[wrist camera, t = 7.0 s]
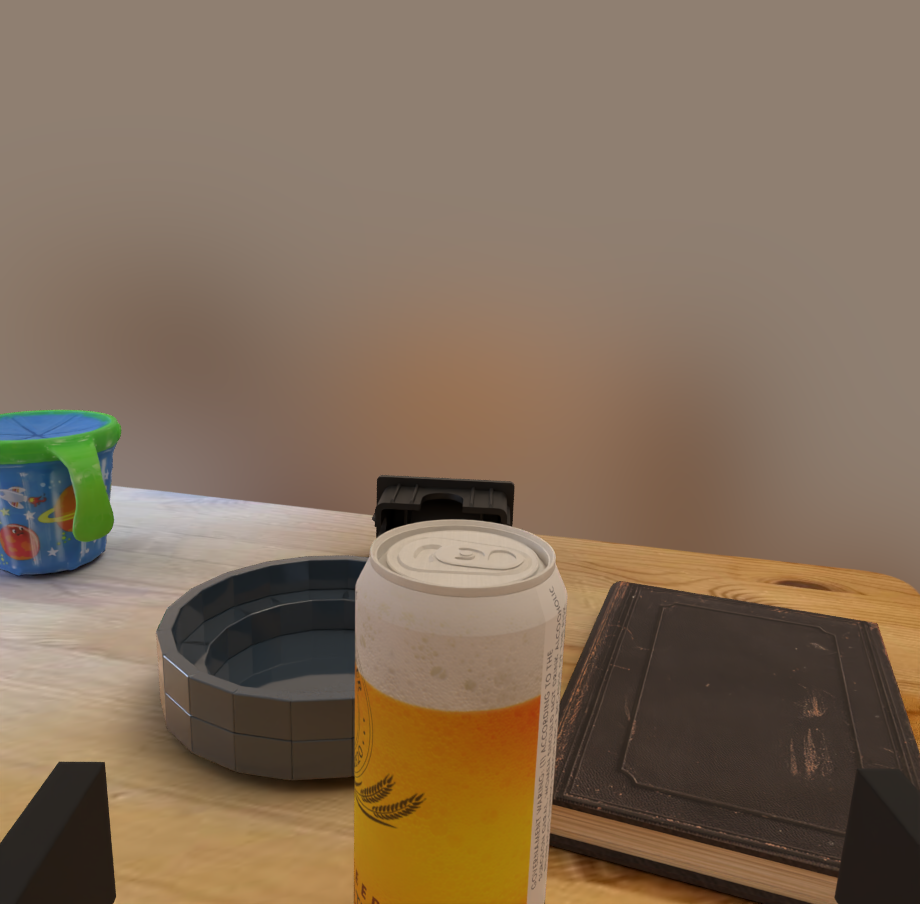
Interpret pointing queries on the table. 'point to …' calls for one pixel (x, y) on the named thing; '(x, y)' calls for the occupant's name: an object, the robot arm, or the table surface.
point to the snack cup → (55, 488)
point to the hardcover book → (724, 741)
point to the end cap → (440, 501)
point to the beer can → (456, 714)
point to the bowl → (265, 668)
